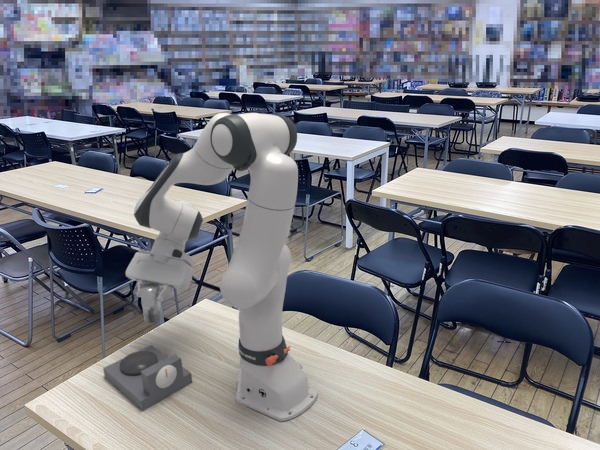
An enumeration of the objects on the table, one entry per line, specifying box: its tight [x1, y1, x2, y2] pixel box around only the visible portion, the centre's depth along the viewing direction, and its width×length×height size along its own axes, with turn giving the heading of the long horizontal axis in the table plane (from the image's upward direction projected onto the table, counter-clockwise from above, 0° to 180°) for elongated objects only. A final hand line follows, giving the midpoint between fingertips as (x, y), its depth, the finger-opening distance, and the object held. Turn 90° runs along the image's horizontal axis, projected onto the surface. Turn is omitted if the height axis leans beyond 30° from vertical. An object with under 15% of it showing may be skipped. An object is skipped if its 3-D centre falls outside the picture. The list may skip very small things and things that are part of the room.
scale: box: [102, 344, 193, 412], centre depth 130 cm, size 20×15×9 cm
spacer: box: [140, 283, 163, 324], centre depth 136 cm, size 5×5×10 cm
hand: (148, 298), depth 135 cm, fingers closed on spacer, 5 cm apart
